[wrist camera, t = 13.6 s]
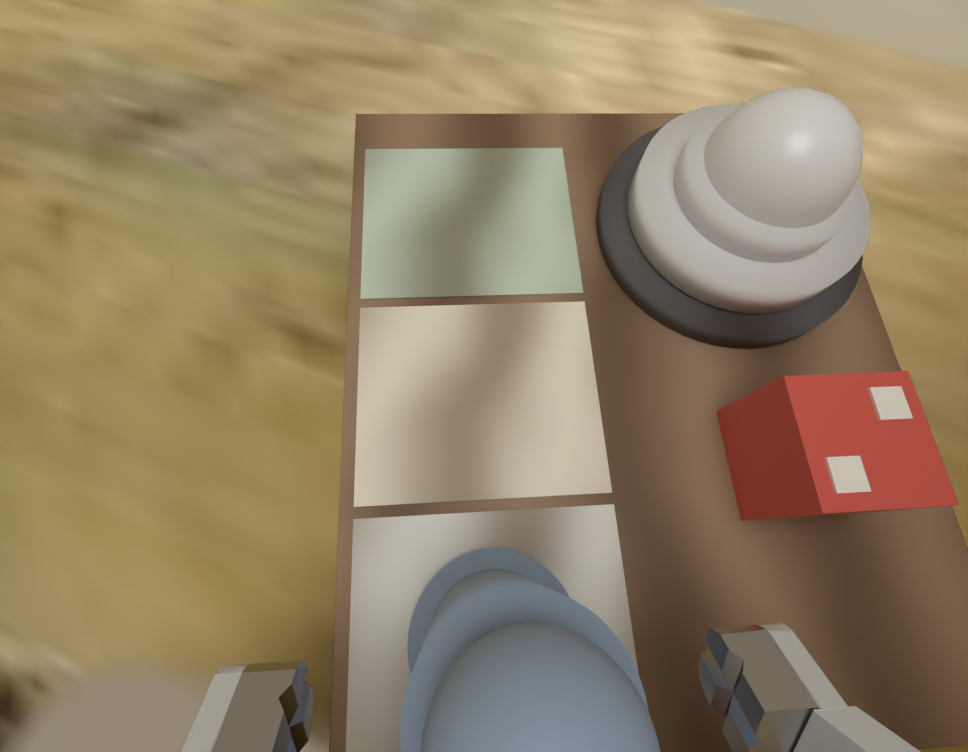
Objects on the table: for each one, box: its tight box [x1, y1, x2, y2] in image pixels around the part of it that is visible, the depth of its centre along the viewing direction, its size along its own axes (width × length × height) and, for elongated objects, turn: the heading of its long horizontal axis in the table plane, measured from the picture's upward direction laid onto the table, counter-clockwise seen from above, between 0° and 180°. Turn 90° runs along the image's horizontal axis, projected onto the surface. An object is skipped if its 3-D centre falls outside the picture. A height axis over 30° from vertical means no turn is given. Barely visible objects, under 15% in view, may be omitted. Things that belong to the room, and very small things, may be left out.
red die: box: [716, 371, 959, 521], centre depth 16 cm, size 4×4×4 cm
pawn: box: [400, 549, 660, 752], centre depth 10 cm, size 5×5×11 cm
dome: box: [627, 88, 871, 314], centre depth 17 cm, size 9×9×5 cm
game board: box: [329, 114, 968, 752], centre depth 19 cm, size 22×26×2 cm
